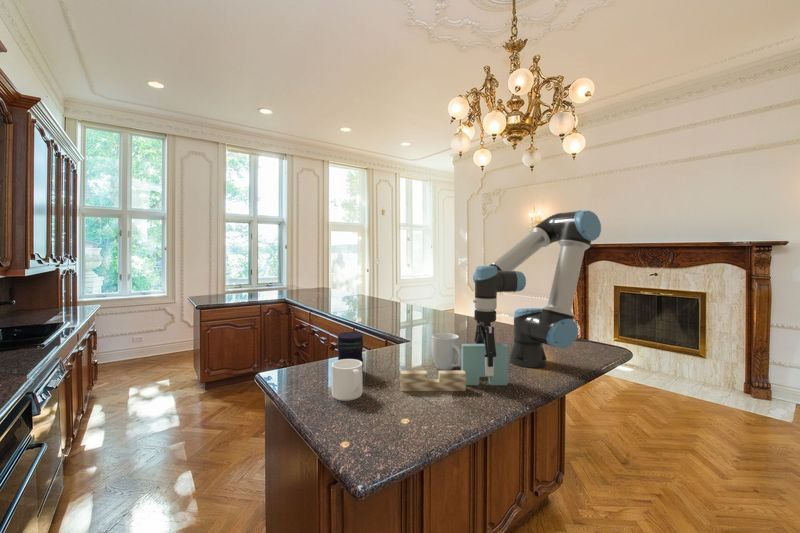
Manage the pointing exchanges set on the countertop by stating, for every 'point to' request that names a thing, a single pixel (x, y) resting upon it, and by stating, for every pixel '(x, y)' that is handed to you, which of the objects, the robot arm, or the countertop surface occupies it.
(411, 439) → the countertop surface
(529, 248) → the robot arm
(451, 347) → the mug
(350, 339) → the storage jar
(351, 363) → the mug
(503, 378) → the pale teal block
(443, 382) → the notched wooden beam
